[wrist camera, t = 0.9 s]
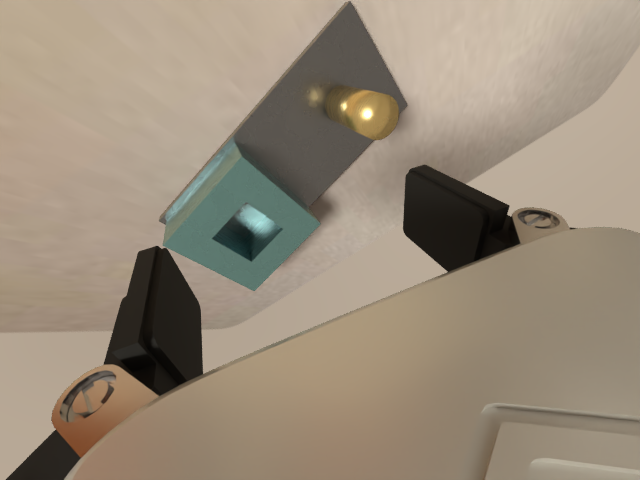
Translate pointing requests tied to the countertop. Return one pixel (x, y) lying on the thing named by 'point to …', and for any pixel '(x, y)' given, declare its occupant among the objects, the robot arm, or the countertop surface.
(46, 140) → the countertop surface
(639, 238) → the robot arm
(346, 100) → the gold rounded cylinder
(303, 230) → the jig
